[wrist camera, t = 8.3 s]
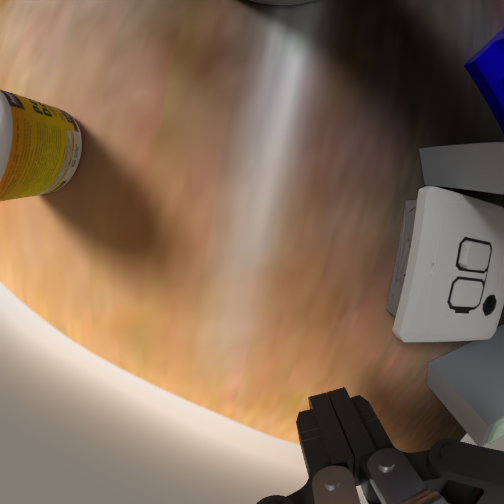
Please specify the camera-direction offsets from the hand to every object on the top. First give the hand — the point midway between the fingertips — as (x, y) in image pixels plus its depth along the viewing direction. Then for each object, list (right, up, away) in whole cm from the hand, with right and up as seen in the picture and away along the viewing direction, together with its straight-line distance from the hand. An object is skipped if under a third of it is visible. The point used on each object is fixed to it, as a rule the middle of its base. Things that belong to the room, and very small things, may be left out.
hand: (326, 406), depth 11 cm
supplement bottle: (-16, +13, +5) cm, 21 cm away
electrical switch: (+15, +6, +9) cm, 18 cm away
